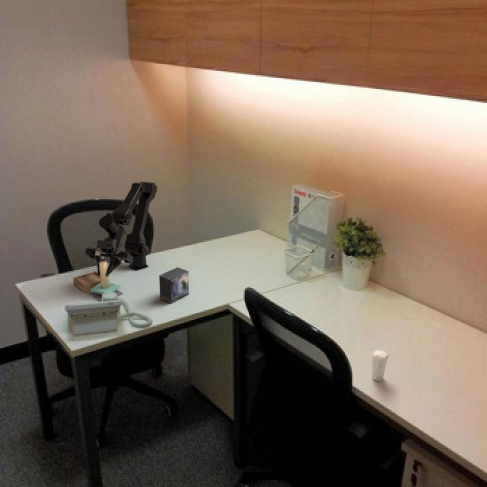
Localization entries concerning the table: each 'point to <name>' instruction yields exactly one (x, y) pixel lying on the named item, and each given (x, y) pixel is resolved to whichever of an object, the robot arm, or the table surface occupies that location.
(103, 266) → the lid
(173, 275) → the small box
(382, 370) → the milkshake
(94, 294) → the mat
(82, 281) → the walnut box
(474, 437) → the table surface
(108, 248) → the robot arm
